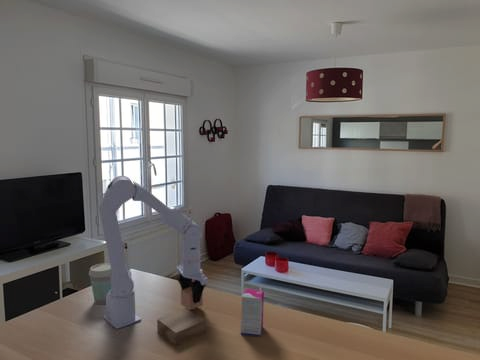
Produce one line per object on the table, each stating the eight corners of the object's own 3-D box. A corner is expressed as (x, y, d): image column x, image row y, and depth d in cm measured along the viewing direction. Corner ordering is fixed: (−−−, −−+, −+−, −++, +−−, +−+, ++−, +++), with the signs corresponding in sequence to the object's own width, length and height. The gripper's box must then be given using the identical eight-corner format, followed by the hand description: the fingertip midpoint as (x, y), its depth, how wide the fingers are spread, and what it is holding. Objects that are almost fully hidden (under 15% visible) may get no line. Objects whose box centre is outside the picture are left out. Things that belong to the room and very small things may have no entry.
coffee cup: (106, 293, 136) (105, 261, 134) (122, 299, 131) (120, 266, 129) (85, 302, 129) (83, 268, 127) (100, 309, 124) (98, 273, 122)
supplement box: (261, 337, 108) (261, 298, 106) (240, 334, 109) (240, 296, 107) (263, 326, 113) (264, 289, 112) (244, 324, 114) (244, 288, 113)
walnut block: (157, 331, 111) (157, 319, 110) (186, 320, 117) (186, 308, 117) (176, 346, 103) (175, 332, 103) (205, 333, 110) (205, 320, 110)
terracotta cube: (181, 304, 124) (180, 290, 124) (193, 300, 128) (193, 285, 127) (190, 310, 121) (189, 295, 120) (202, 305, 124) (202, 290, 123)
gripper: (215, 262, 120) (215, 303, 121) (188, 251, 130) (189, 288, 132) (197, 267, 115) (197, 310, 117) (170, 255, 125) (171, 294, 127)
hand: (191, 299), depth 124 cm, fingers closed on terracotta cube, 5 cm apart
